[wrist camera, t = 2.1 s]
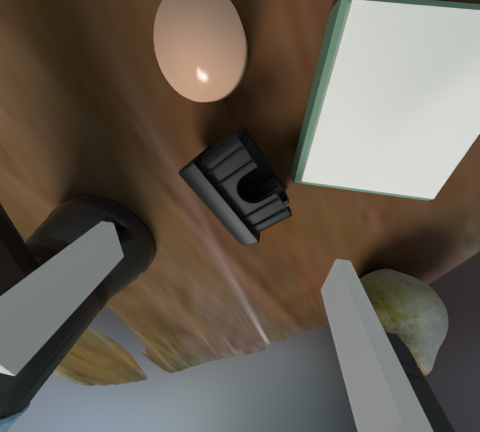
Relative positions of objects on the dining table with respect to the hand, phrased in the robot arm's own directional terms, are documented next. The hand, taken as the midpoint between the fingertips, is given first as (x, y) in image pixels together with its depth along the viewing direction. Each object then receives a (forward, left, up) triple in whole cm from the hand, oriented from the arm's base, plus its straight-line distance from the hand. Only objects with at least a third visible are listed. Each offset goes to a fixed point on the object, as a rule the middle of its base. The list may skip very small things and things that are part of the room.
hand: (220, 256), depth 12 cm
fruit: (+22, -13, -14) cm, 29 cm away
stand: (+12, +8, -13) cm, 20 cm away
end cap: (0, 0, -14) cm, 14 cm away
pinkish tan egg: (-4, +11, -14) cm, 18 cm away
